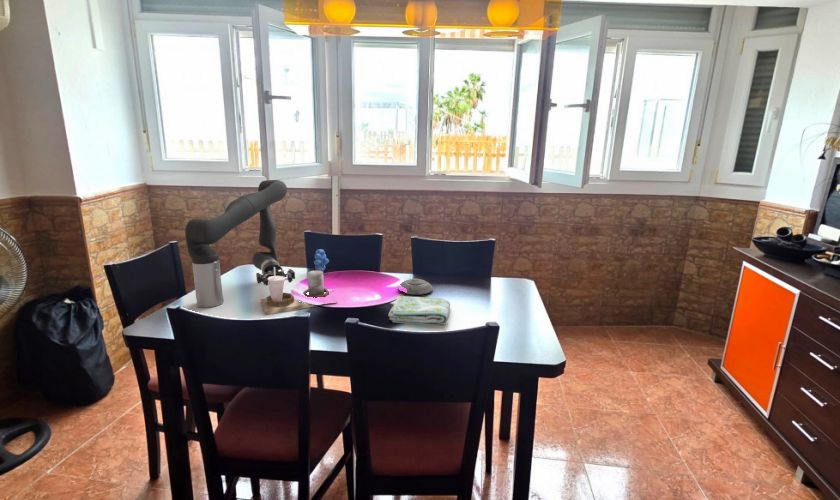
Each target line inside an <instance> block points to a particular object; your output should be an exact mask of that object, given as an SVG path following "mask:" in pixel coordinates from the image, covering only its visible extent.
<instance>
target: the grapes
mask: <svg viewBox="0 0 840 500" xmlns="http://www.w3.org/2000/svg"><path fill="white" fill-rule="evenodd" d="M314 258H315V260H314V261H313V263H314V264H313V265H315V267H314V268H315V271H322V272H323V273H324V271H325V269H326V268H327V267H326V265H328V263H330V260H329V259H328V258H327V255H326V252H325V250H324V249H323V248H320V249H319V248H318V249H316V251H315V254H314Z"/></svg>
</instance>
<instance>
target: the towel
mask: <svg viewBox="0 0 840 500" xmlns="http://www.w3.org/2000/svg"><path fill="white" fill-rule="evenodd" d="M450 308H451V303H450V301H449V300H447V299H444V298H441V297H423V296H403V295H402V296H397V297H396V300H395V302H394V304H393V305H392V306H391V308H390V310H389V312H388V317H389V320H390V321H391V322H392V323H395V324H397V323H398V324H410V325H411V324H412V325H422V326H423V325H425V326H441V325H444V324H445V323H447V320H448V317H449V313H450V310H451V309H450Z"/></svg>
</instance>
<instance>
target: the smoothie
mask: <svg viewBox="0 0 840 500" xmlns="http://www.w3.org/2000/svg"><path fill="white" fill-rule="evenodd" d="M285 281H286V280H285V277H283V276H275V267H274V276H271V277H269V278H268V287H269V294H270V295H271V301H282V295H283V293H284V287H285V286H284V285H285ZM270 295H269V296H270Z"/></svg>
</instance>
